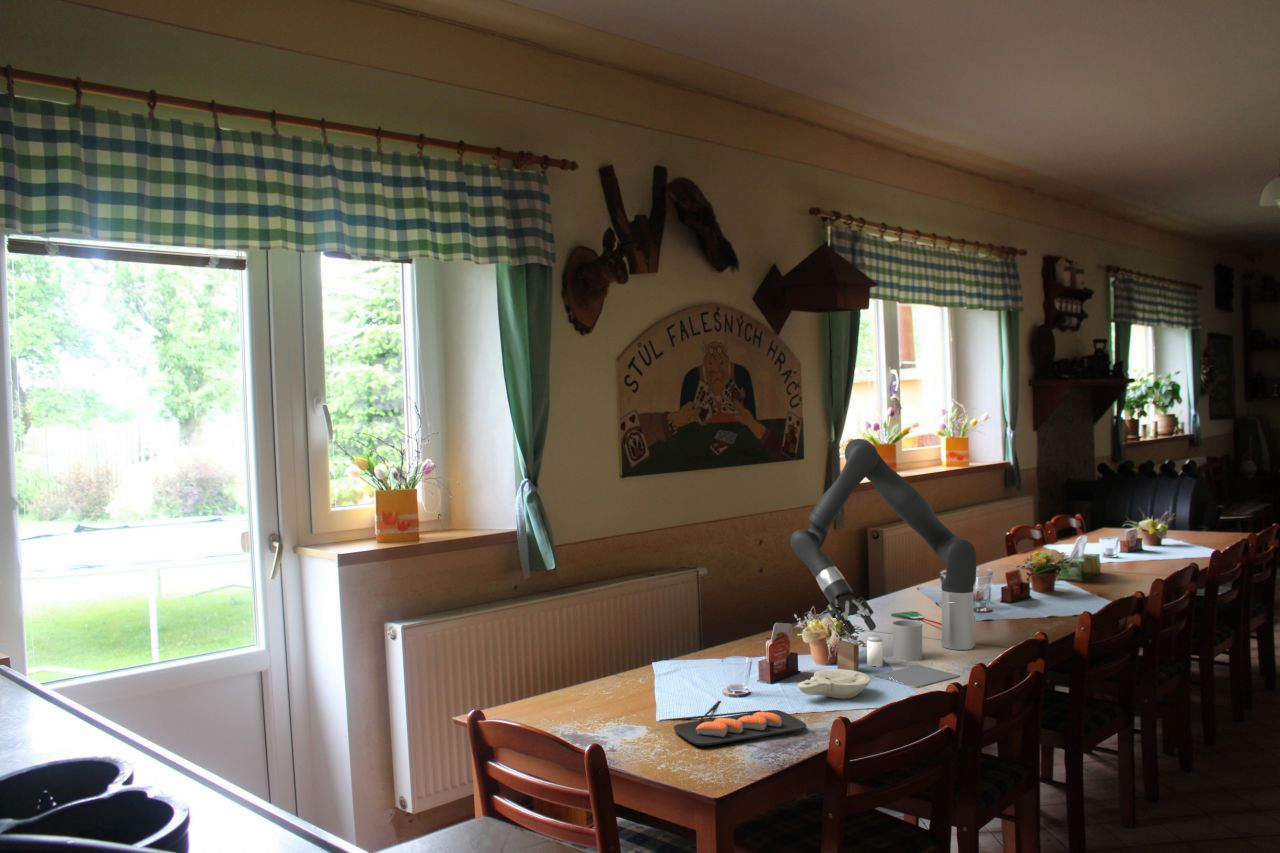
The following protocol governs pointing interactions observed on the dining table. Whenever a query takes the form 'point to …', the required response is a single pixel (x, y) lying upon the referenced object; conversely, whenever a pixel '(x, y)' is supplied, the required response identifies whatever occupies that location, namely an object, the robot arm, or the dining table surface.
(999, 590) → the dining table surface
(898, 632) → the cup
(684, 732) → the sushi plate
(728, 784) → the dining table surface
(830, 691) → the oil lamp
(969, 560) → the robot arm
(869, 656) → the sugar shaker
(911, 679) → the felt mat
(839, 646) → the brown flat rectangular block
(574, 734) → the dining table surface
